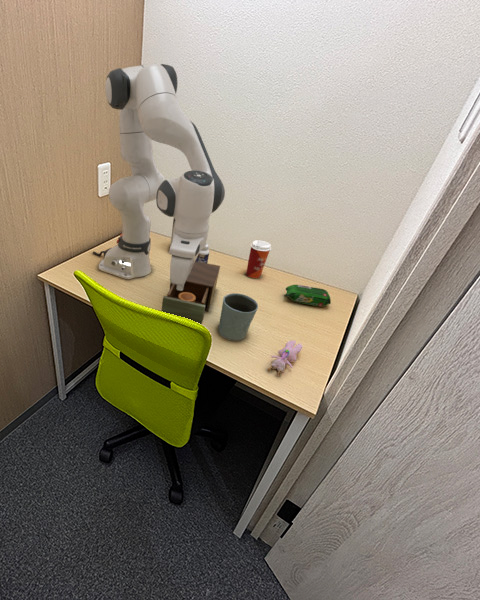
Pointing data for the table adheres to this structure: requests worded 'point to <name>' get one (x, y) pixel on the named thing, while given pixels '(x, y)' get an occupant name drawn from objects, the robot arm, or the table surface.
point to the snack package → (308, 295)
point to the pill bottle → (203, 255)
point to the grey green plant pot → (236, 316)
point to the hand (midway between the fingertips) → (183, 282)
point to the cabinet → (204, 278)
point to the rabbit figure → (286, 356)
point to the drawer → (186, 302)
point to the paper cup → (257, 258)
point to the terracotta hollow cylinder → (187, 296)
